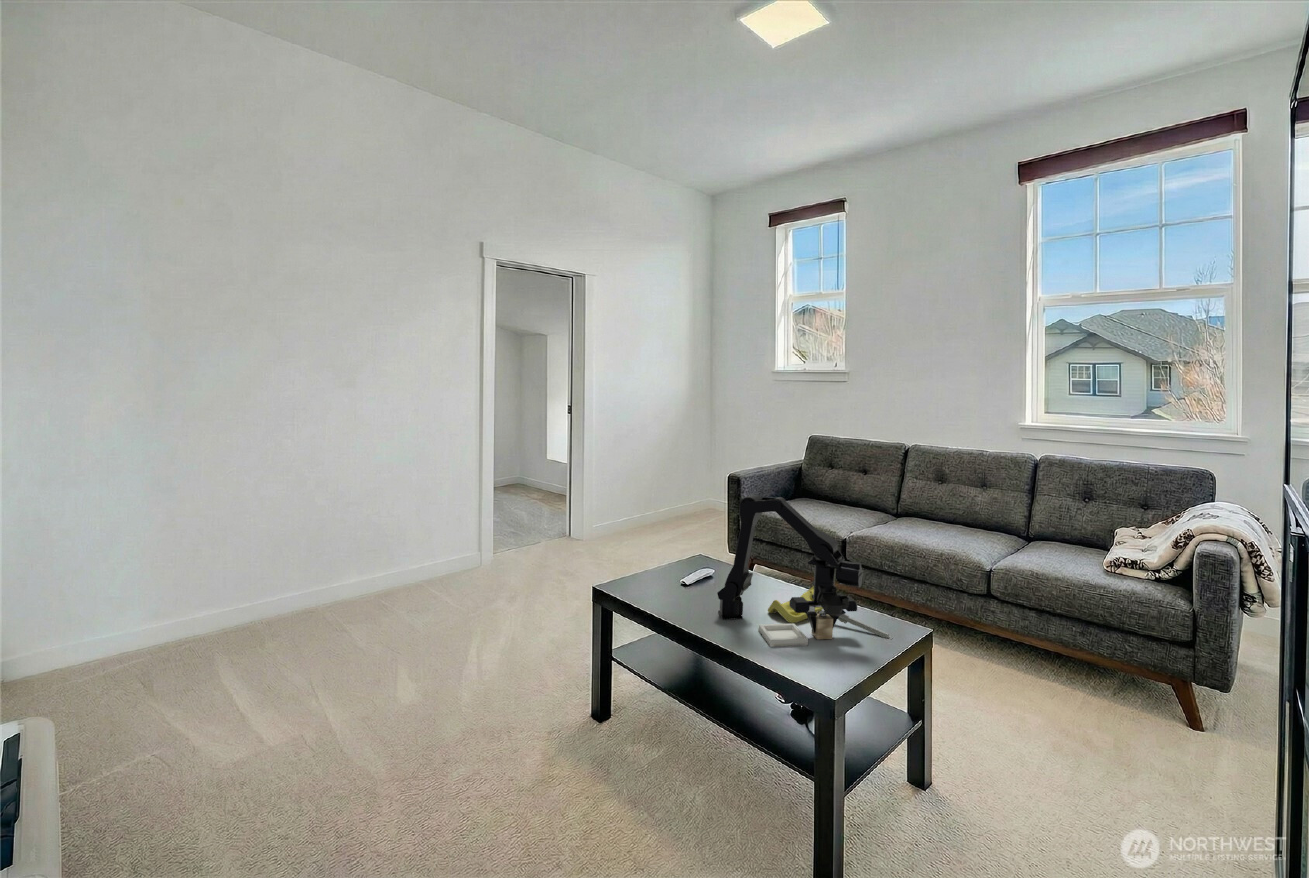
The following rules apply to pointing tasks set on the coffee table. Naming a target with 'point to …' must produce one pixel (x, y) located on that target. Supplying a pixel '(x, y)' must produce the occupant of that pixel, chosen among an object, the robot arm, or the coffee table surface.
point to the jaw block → (823, 626)
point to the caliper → (862, 625)
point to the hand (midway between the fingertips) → (821, 632)
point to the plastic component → (789, 612)
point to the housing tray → (783, 635)
